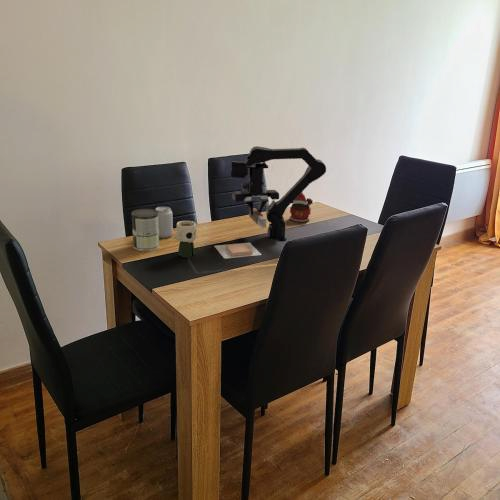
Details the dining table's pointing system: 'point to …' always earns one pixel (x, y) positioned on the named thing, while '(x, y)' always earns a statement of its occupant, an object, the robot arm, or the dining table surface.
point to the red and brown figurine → (301, 208)
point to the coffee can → (145, 229)
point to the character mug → (186, 238)
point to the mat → (227, 255)
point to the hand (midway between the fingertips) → (255, 215)
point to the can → (165, 222)
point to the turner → (258, 218)
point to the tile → (238, 249)
